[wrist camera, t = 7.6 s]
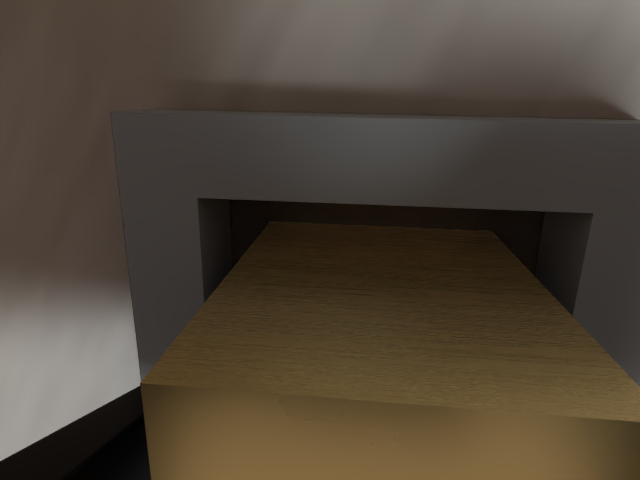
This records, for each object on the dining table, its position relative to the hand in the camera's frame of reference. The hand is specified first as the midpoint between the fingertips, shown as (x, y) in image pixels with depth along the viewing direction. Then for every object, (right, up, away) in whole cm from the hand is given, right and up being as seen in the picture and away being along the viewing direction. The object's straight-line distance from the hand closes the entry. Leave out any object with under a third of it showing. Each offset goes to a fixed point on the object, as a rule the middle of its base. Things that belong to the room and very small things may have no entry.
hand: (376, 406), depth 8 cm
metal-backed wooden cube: (0, +1, +3) cm, 3 cm away
